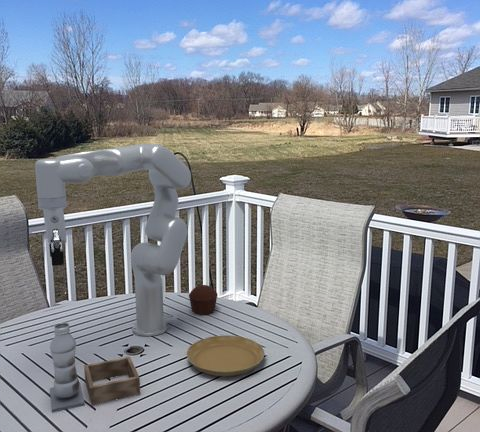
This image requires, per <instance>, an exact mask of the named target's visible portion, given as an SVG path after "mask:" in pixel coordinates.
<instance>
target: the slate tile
mask: <svg viewBox="0 0 480 432" xmlns="http://www.w3.org/2000/svg"><path fill="white" fill-rule="evenodd" d="M49 394H50V405H51V412H52V413H55V412H61V411H63V410H69V409H73V408H77V407H82V406H85V398H84V394H83V389H82V385H81V381H79V390H78V392H77V393H76V394H75V395H74V396H72V397H70V398H66V399H61V398H58V397H57V396H56V395H55V392H54V386H53V387H49Z"/></svg>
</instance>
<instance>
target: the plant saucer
mask: <svg viewBox="0 0 480 432" xmlns="http://www.w3.org/2000/svg"><path fill="white" fill-rule="evenodd" d="M264 357H265V349H264V347H263V346H262V345H261V344H260V343H258V342H257V341H255V340H254V339H251V338H248V337H243V336H239V335H227V334H226V335H224V334H223V335H213V336H207V337H205V338H201V339H200V340H196V341H195V342H193V343H192V344H191V345H190V346H189V347H188V348H187V351H186V358H187V360H188V362H189V363H190V364H191V366H193V367H194V368H195V369H196V370H198V371H200V372H201V373H204V374H205V375H206V374H207V375H210V376H213V377H225V378H226V377H235V376H241V375H244V374H246V373H248V372H251V371H252V370H254V369H255V368H257V367H258V366H259V365H260V364H261V362H262V361H263V359H264Z"/></svg>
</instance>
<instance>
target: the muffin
mask: <svg viewBox="0 0 480 432" xmlns="http://www.w3.org/2000/svg"><path fill="white" fill-rule="evenodd" d="M218 296H219V295H218V292H216V290H215V289H214V288H213V287H211V286H210V285H207V284H200V285H196V286H195V287H194V288H193V289H192V290H191V291H190V293H189V294H188V297H189V303H190V307H191V312H192V313H193V314H194V315H198V316H208V315H210V314H212V315H213V314H214V312H215V311H216V306H217V298H218Z"/></svg>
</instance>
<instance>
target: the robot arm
mask: <svg viewBox="0 0 480 432" xmlns="http://www.w3.org/2000/svg"><path fill="white" fill-rule="evenodd" d="M146 170H147V171H148V179H149V181H150V183H151V186H152V188H153V190H154V201H153V204H152V207H151V210H150V211H149V212H150V213H149V215H148V218H147V221H146V224H145V227H144V233H145V235H146V237H147V238H149V239H150V240H153V241H157V242H160V245H159V244H155V243H151V242H140V243H137V244H136V245H135V246H134V247H133V248H132V250H131V253H130V263H131V267H132V272H133V276H134V294H135V318H136V320H135V321H136V322H135V323H134V324H133V325H132V328H131V329H132V332H133V333H134V334H135V335H137V336H140V337H154V336H158V335H161V334H163V333H165V332H166V331H168V329H169V323H172V322H177V321H178V317H177V316H176V315H174V316H173V315H172V314H167V315H165V314H164V296H163V295H164V293H163V292H164V291H163V287H164V286H163V278H162V277H163V276H169V275H170V274H172V273H173V272H174V271H175V269H176V268H177V266H178V263H179V260H180V258H181V255H182V252H183V249H184V246H185V243H186V240H187V236H188V227H187V226H188V225H187V224H186V222H185V220H184V219H183V218H180V217H178V216H176V214H177V211H178V207H179V197H178V196H179V195H178V192H177V190H183V189H186V188H187V187H188V186H189V185H190V183H191V180H192V173H191V170H190V169H189V167H188V166H187V164H185V163H184V162H183V161H182V160H181V159H180V158H178V157H177V156H176V155H175V154H174V153H173V152H172V150H170V149H168V148H167V147H165V146H164V145H162V144H157V143H155V144H154V143H153V144H152V143H139V144H131V145H127V146H121V147H114V148H107V149H106V148H105V149H100V150H93V151H83V152H78V153H77V152H75V153H69V154H65V155H64V154H63V155H59V156H58V157H55V158H44V159H43V158H42V159H38V160H36V162H35V164H34V171H35V180H36V181H35V183H36V192H37V202H38V204H37V205H38V210H41V211H42V212H43V219H44V228H45V234H46V238H47V242H48V246H49V247H48V248H49V256H50V259H51V266H52V267H57V266H64V265H65V258H64V250H63V243H64V244H65V243H67V233H66V221H65V213H64V209H66V208H68V207H67V194H66V193H67V192H66V184H84V183H86V182H88V181H90V180H91V179H92V177H93V176H103V177H104V176H106V177H107V176H108V177H111V176H113V177H114V176H120V175H124V174H125V175H126V174H130V173H133V172H140V171H146Z"/></svg>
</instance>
